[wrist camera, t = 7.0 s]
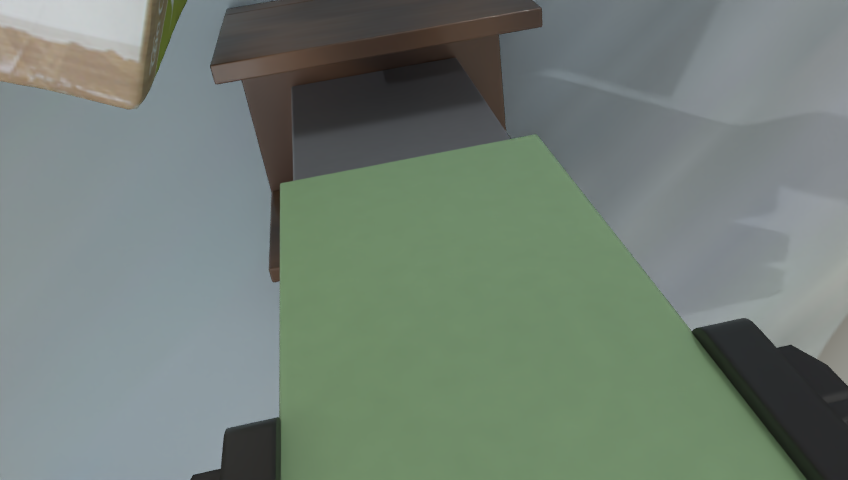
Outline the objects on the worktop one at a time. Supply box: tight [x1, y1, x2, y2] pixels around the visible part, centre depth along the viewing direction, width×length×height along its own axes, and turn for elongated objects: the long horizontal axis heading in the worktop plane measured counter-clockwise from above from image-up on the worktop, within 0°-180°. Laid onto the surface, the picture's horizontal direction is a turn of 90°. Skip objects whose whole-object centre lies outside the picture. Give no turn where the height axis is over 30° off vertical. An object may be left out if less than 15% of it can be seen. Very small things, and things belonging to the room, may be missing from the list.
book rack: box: [210, 0, 543, 282], centre depth 29 cm, size 10×15×7 cm, turn 7°
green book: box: [279, 134, 807, 480], centre depth 12 cm, size 6×2×12 cm, turn 97°
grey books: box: [291, 58, 511, 181], centre depth 25 cm, size 6×4×11 cm, turn 97°
